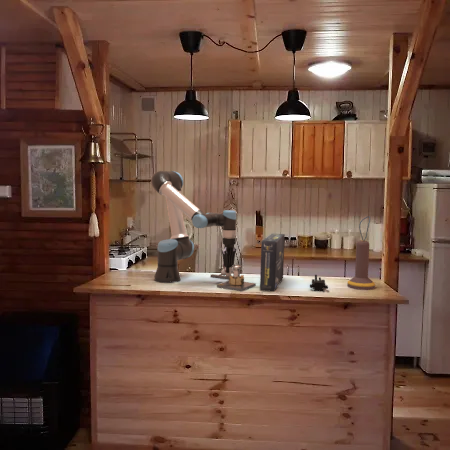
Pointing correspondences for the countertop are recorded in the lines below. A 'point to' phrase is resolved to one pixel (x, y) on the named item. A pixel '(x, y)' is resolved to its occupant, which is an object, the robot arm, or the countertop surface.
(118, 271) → the countertop surface
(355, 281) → the flashlight
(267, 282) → the box
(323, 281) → the toy
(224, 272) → the figurine
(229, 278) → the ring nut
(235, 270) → the brass fixture on plate
